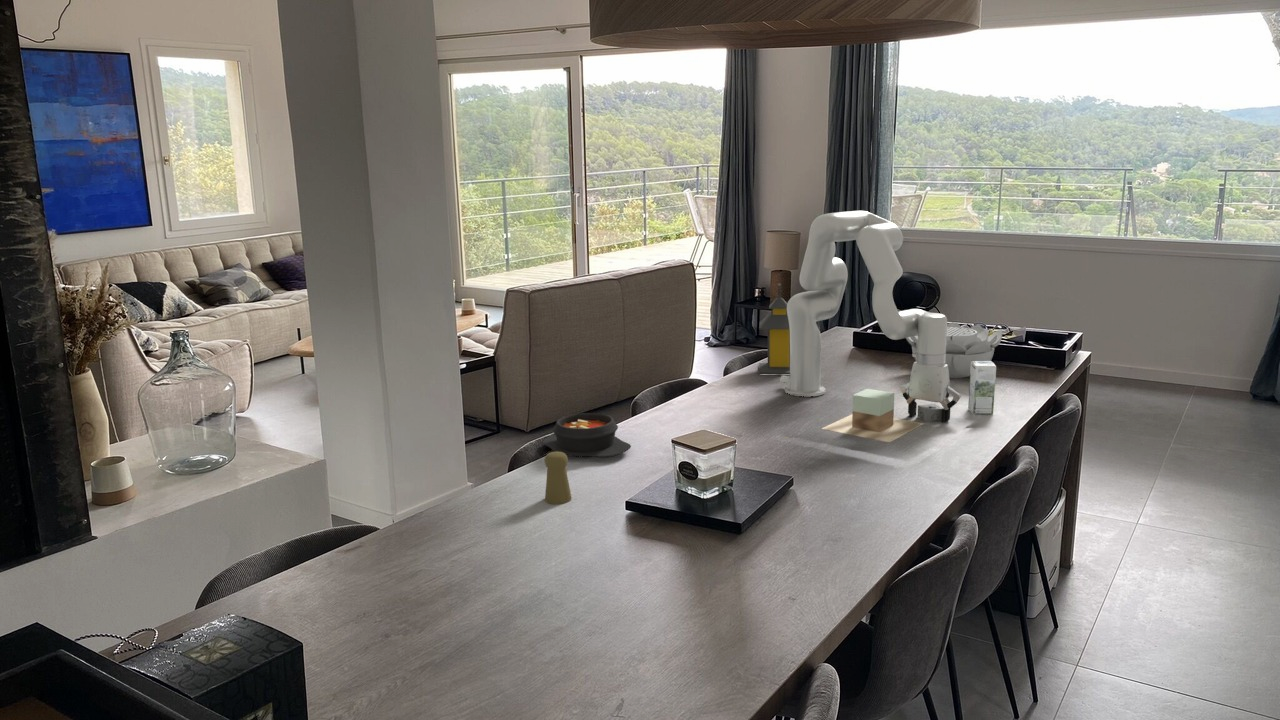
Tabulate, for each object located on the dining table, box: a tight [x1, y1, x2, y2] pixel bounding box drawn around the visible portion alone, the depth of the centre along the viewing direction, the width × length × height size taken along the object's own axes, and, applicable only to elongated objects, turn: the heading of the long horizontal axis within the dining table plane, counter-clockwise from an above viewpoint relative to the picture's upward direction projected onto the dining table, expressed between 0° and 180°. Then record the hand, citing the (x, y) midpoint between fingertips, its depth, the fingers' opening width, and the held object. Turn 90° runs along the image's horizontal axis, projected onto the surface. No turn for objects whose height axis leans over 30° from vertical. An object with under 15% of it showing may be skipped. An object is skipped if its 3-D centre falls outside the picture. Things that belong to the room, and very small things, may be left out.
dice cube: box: [917, 403, 944, 423], centre depth 259 cm, size 5×5×5 cm
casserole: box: [541, 412, 632, 459], centre depth 245 cm, size 25×19×8 cm
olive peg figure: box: [544, 451, 572, 505], centre depth 212 cm, size 6×6×11 cm
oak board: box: [821, 413, 925, 443], centre depth 254 cm, size 20×20×2 cm
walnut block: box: [851, 408, 895, 432], centre depth 254 cm, size 8×8×4 cm
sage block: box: [852, 388, 895, 416], centre depth 253 cm, size 8×8×4 cm
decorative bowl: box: [905, 321, 1003, 379], centre depth 309 cm, size 30×30×15 cm
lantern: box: [758, 283, 790, 375], centre depth 321 cm, size 14×14×30 cm
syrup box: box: [967, 360, 997, 415], centre depth 267 cm, size 6×6×14 cm
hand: (928, 419), depth 259 cm, fingers open, 9 cm apart
